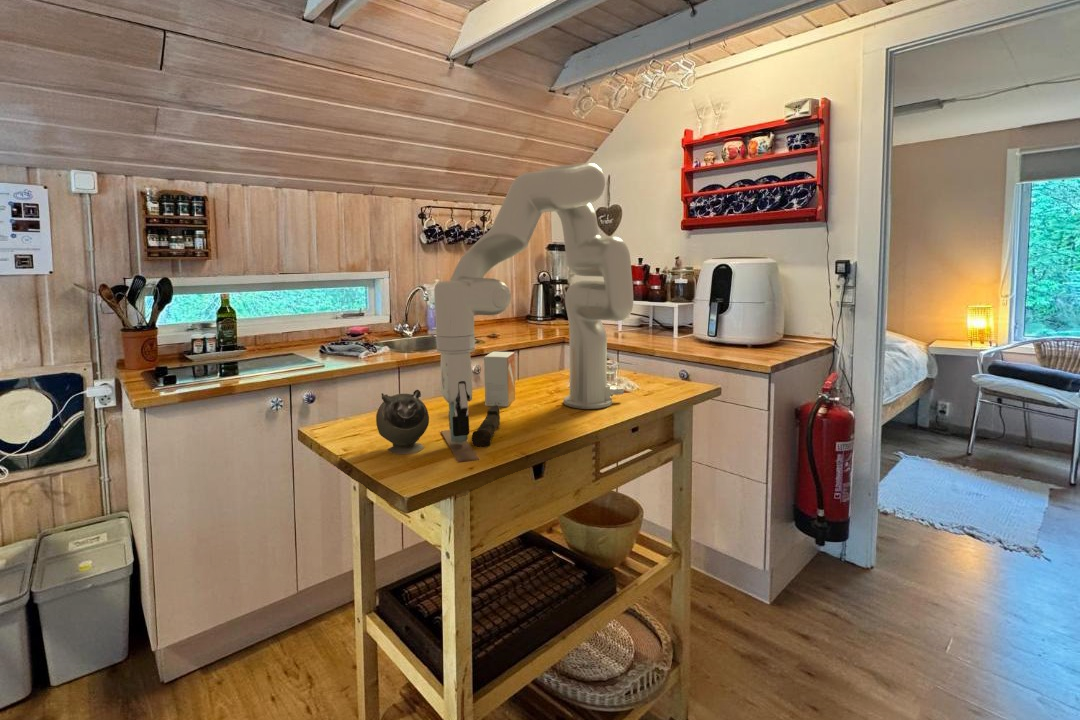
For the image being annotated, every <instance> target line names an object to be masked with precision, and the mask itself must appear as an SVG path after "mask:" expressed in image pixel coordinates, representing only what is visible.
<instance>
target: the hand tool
mask: <svg viewBox="0 0 1080 720" xmlns="http://www.w3.org/2000/svg"><path fill="white" fill-rule="evenodd" d="M500 419H501V416H500V406H497V405H495V406H490V408H488V409H487V411H486V416H485V418H484V420H482V422H481V424H480V425H479V427H478V428H477V429H476V430H474V431H473V432H472V434H471V444H472V446H473V447H474V448H488V447H489V446H490V445H491V441H492V438H493V436H494V435H495V432H496V430H497V429H499V428H500V423H501V422H500V421H501V420H500Z"/></svg>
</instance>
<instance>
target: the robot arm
mask: <svg viewBox="0 0 1080 720" xmlns="http://www.w3.org/2000/svg"><path fill="white" fill-rule="evenodd" d="M605 187H606V177H605V174H604V172H603V171H602V168H601V167H599V166H598V165H597V164H596V163H592V162H581V163H574V164H567V165H558V166H552V167H546V168H545V169H542V170H541V171H538V170H537V171H532V172H526V173H522V174H520V175H518V176H517V177H516V178H514V180H513V181H512V182H511V186H510V187H509V189H508V192H507V193H506V195H505V197H504V200H503V202H502V204H501V207H500V208H499V210H498V213H497V215H496V217H495V219H494V221H493V224H492V226H491V228H490V229H489V230H488V231H487V232H486V233H484V234H483V235H482V236H481V237H480V238H479V239H478V240H477V241H476V242H475V243H474V244H472V245H471V247H469V249H467V250H466V252H465V253H464V254H463V255H462V256H461V258H460V259H459V261H458V262H457V265H456V267H455V269H454V271H453V273H452V274H451V277H450V279H449V280H443V281H439V282H437V283H436V284H435V285H434V291H433V296H434V298H433V299H434V315H435V334H436V336H435V337H436V339H435V340H436V353H439V354H440V394H441V396H442V397H443V399H444V400H445V402H446V403H448V405H449V404H451V403H452V402H453V409H454V417H452V418H453V435H454V436H464V435H468V436H469V435H470V418H469V417H470V416H469V404H468V403H470V402H471V401H472V399H473V374H472V373H473V372H472V360H471V353H472V352H475V350H476V343H475V342H476V341H475V340H476V339H475V336H476V335H475V316H491V317H492V316H498V315H500V314H502V313H504V312H505V311H506V310H507V309H508V307H509V306H510V304H511V300H512V294H511V290H510V288H509V287H508V285H507V284H506V283H505V282H504V281H501V280H499V279H496V278H490V277H489V278H488V277H487V278H486V277H485V276H486V275H487V274H488V273H489V272H490V270H492V269H493V268H494V267H495V266H497V265H498V264H500V263H502V262H504V261H506V260H508V259H510V258H512V257H514V256H516V255H518V254H519V253H521V252H523V251H524V250H525V249H526V248H527V247H528V246H529V243H530V241H531V239H532V237H533V234H534V231H535V229H536V227H537V225H538V223H539V220H540V218H541V216H542V215H543V213H552V212H556V214H557V215H558V217H559V219H560V222H561V226H562V233H563V241H564V250H565V258H566V263H567V267H568V270H569V271H570V273H572V274H573V275H576V276H580V277H596V278H597V277H601V278H603V280H579V281H576V282H574V283H572V284H571V285H570V286H569V287H568V288H567V290H566V293H565V297H564V304H565V305H564V306H565V310H566V314H567V315H566V316H567V319H568V329H569V330H568V331H569V333H568V335H569V337H568V338H569V339H568V340H569V342H568V344H569V350H568V351H569V355H568V356H569V395H567V396H565V397H564V398H563V404H564V405H565V406H567V407H570V408H574V409H582V410H595V409H596V410H598V409H603V408H607V407H610V406H611V405H612V404H613V398H612V397H613V396H614V395H617V396H618V395H623V394H624V393H625V390H624V387H623V386H618V387H615V386H610V385H608V384H607V378H608V377H607V376H608V374H607V373H608V372H607V371H608V370H607V366H608V365H607V362H608V361H607V355H608V354H607V353H608V352H607V351H608V349H607V348H608V336H607V331H606V329H605V326H604V324H603V323H602V321H610V322H611V321H612V322H613V321H614V322H620V321H625V320H626V319H627V318H629V316H630V315H631V313H632V311H633V309H634V285H633V274H632V261H631V255H630V254H631V253H630V251H629V247H628V246H627V244H626V242H625V241H624V240H623V239H622V238H620V237H617V236H612V235H611V236H610V235H609V236H604V235H603V236H601V234H600V231H599V226H598V225H599V224H598V218H597V213H596V211H595V209H594V207H593V204H592V203H594V202H596V201H598V200H599V198H601V196H602V195H603V193H604V191H605ZM458 398H459V399H460V401H456V399H458ZM457 405H460V406H458V408H457ZM448 423H449V425H448V427H449V429H450V415H449V414H448Z"/></svg>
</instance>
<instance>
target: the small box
mask: <svg viewBox="0 0 1080 720" xmlns="http://www.w3.org/2000/svg"><path fill="white" fill-rule="evenodd" d="M515 356H516V355H515V352H514V351H513V352H512V351H492V352H490V353H488V354H487V355H485V356H484V357H483V366H484V367H483V368H484V371H483V372H484V401H485V403H484V404H485V407H492V406H495V405H497V406H499V408H500V407H501V408H503V407H505V408H507V407H509V406H510V405H511V404H512V403H513V402H514V401H515V400H516V373H515V371H516V367H515V366H516V365H515V363H516V359H515Z"/></svg>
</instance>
